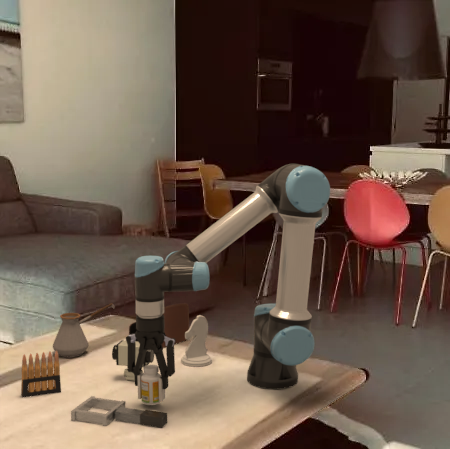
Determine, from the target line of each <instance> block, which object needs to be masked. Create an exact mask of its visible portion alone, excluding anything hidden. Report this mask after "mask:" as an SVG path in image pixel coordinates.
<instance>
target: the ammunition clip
mask: <svg viewBox="0 0 450 449" xmlns="http://www.w3.org/2000/svg"><path fill="white" fill-rule="evenodd" d="M27 361H28V364H27ZM40 362H41V364H40ZM60 367H61V366H60V358H59V354H58V352H57V351H56V352H55V351H54V361H53V354H52V352H51V351H49V352H48V356H47V358H46V354H45V352H44V351H43V352H42V354H41V361H40V356H39V353H38V352H36V354H35V358H33V355H32V353H30V354H29V356H28V360H27V356H26V354H25V353H24V354H23V355H22V362H21V387H20V388H21V389H20V392H21V393H20V395H21V397H22V398H23V397H24V398H29V397H30V396H31V397H38V396H44V395H51V394H52V395H53V394H59V393H62V386H61V374H60V373H61V372H60V369H61V368H60ZM31 397H30V398H31Z"/></svg>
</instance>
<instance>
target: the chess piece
mask: <svg viewBox="0 0 450 449" xmlns="http://www.w3.org/2000/svg"><path fill="white" fill-rule="evenodd" d="M208 334H209V322H208V320H207V318H206V317H205V316H203V315H201V314H199V315H196V317H195V319H193V320H192V322H191V324H190V325H189V330H188V331H187V332H185V339H187V341H190V342H189V343H188V345H187V347H186V348H185V352H184V354H183V356H182V357H181V358H180V364H182V365H184V366H187V367H193V368H195V367H196V368H200V367H201V368H202V367H207V366H210V365H211V364H212V363H213V361H212V357H211V356H210V355H209V354H207V353H208V352H209V350H208V348H207V346H206V345H207V344H206V341H207V338H208Z"/></svg>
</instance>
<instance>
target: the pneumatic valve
mask: <svg viewBox="0 0 450 449" xmlns="http://www.w3.org/2000/svg"><path fill="white" fill-rule="evenodd" d="M135 343H136V352H135V365H136V361H137V357H138V353H139V347H140V344H139V342H137V341H136V342H135ZM111 356H112V360H114V361H115V362H116V366H121V367H123V366H124V367H127V366H128V345H127V341H126V340H120V341H119V342H118V343H116V344H114V345H113V347H112V351H111ZM154 360H155V354H154V352H153V350H151V349H147V351H146V355H145V359H144V363H143V367H142V368H144V366H146V365H150V364H152V363H154ZM141 373H144V370H142V371H141ZM123 377H124V378H125V380H126V381H132V382H135V376H134V373H132V372H128V370H127V368H125V369H124V371H123Z"/></svg>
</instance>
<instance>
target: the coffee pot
mask: <svg viewBox="0 0 450 449" xmlns="http://www.w3.org/2000/svg"><path fill="white" fill-rule="evenodd" d="M109 307H113V309H115V308H116V306H115V305H114V303H113V302H110V303H109V304H108V305H105V306H104V307H101V308H99V309H97V310H96V311H95V312H93V313H91V314H90V315H88V316H86V317H84V318H83V319H81V320H80V321H79V318H80V317H81V314H79V313H77V312H66V313H61V314H60V315H59V317H60V318H61V321H62V322H61V323H60V327H59V329H58V332H57V334H56V337H55V339H54V341H53V343H52V349H53V351H54V353H55V352H56V351H57V352H58V356H60V357H62V358H74V357H75V358H77V357H79V356H82V355H83V354H84V353H85V352H86V351H87V350H88V348H89V342H88V340H87V338H86V335H85V333H84V330H83V329H82V327H81V324H83V323H84V322H86V321H89V319H91V318H93V317H95V316H97V315H99V314H101V313H103V312H104V311H105V310H108V309H109Z"/></svg>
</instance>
